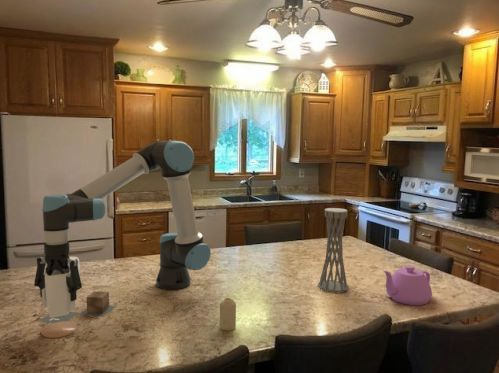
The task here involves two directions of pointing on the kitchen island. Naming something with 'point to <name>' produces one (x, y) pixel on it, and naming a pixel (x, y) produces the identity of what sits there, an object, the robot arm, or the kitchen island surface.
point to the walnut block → (97, 302)
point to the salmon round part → (59, 329)
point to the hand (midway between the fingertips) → (58, 308)
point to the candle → (227, 314)
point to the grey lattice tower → (334, 252)
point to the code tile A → (59, 319)
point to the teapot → (409, 286)
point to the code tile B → (98, 313)
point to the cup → (56, 294)
